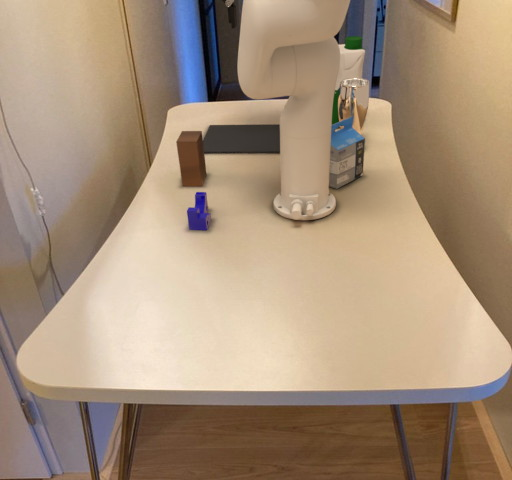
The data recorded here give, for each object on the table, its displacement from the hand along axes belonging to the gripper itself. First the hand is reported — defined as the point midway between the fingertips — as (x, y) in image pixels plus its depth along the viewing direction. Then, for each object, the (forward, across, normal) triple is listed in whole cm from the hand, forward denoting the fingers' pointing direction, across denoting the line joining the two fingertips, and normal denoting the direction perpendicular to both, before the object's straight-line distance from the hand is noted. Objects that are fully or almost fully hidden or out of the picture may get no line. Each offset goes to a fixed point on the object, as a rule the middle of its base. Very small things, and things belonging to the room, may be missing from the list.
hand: (256, 26), depth 117 cm
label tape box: (+27, +20, -17) cm, 38 cm away
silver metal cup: (+27, +21, +1) cm, 34 cm away
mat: (+27, -5, +6) cm, 28 cm away
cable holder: (+27, -8, -36) cm, 45 cm away
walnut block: (+27, -13, -18) cm, 35 cm away
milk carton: (+27, +19, +18) cm, 38 cm away
